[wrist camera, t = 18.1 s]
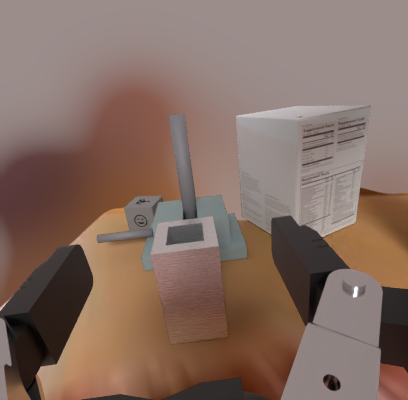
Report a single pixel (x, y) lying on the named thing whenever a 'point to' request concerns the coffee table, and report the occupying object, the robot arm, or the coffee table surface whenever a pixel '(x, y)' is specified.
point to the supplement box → (302, 165)
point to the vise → (188, 207)
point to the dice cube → (141, 212)
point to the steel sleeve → (190, 279)
